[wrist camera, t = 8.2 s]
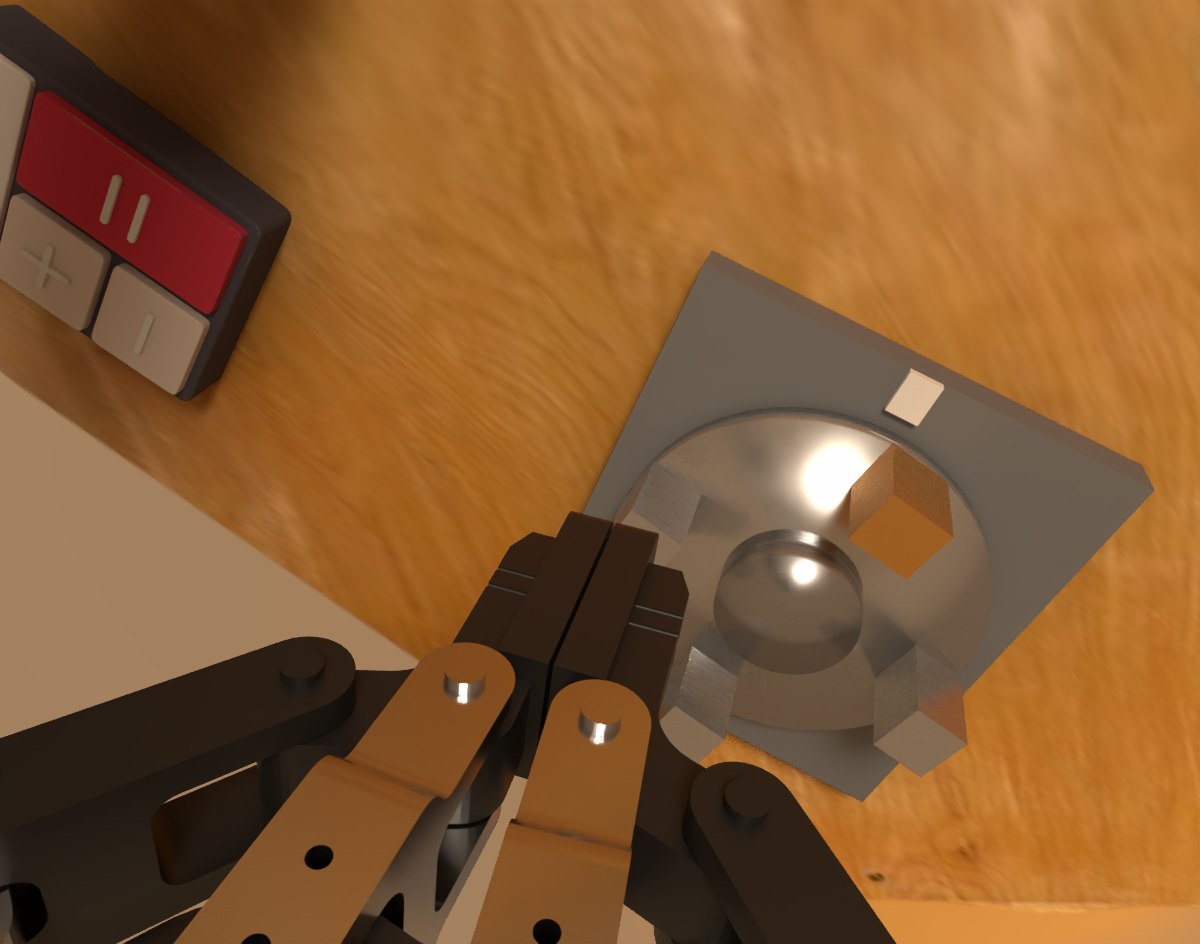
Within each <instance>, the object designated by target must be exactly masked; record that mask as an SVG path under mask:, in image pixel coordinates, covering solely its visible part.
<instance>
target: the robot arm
mask: <svg viewBox="0 0 1200 944" xmlns="http://www.w3.org/2000/svg"><path fill="white" fill-rule="evenodd" d="M658 540H659V533H655V532H651V531H648V530H644V529H640V528H636V527H632V526H628V525H624V524H620V523H616V524H615V526H614V522H612V521H608V520H604V519H600V518H597V517H593V516H589V515H585V514H581V513H577V512H573V511H571V512H570V513H569V514H568V516H567V518H566V520H565V522H564V524H563V526H562V527H561V529H560V531H559V533H558V535H557V537H556V538H554V537H550V536H546V535H542V534H538V533H535V532H532V533H530V534H529V535H527V536H526V537H524V538H523V539H521V540H519V541H518V542H516V543H515V544H513V545H512V546H510V548H509V549H508V551H507V553H506V554H505V556H504V558H503V559H502V561H501V563H500V564H499V566H498V570H496V571H495V573H494V574H493V576H492V578H491V580H490V581H489V584H488V587H487V586H486V588H485V590H484V591H483V593H482V595H481V596H480V598H479V600H478V601H477V603H476V605H475V606H474V608H473V610H472V611H471V613H470V615H469V616H468V618H467V620H466V621H465V623H464V625H463V626H462V628H461V630H460V631H459V633H458V635H457V636H456V638H455V640H454V641H453V643H452V644H448V645H444V646H441V647H439V648H436V649H435V650H433V651H431V652H430V653H428V654H427V655H426V656H424V657H423V659H422V660H421V661H420V662H419V663H418V665H417V666H416V667H415V668H413V669H409V670H401V671H372V670H371V671H370V670H356V669H355V668H356V667H355V662H354V659H353V657H352V655H351V654H350V653H349V652H348V650H347V649H346V648H344V647H343V646H342V645H340V644H338V643H336V642H334V641H332V640H329V639H325V638H319V637H297V638H292V639H288V640H284V641H281V642H279V643H275V644H272V645H269V646H267V647H264V648H261V649H258V650H255V651H252V652H249V653H246V654H243V655H240V656H238V657H235V658H232V659H229V660H226V661H223V662H220V663H217V664H214V665H211V666H208V667H206V668H203V669H200V670H197V671H194V672H191V673H188V674H185V675H183V676H180V677H177V678H174V679H171V680H168V681H165V682H162V683H159V684H156V685H153V686H151V687H148V688H145V689H142V690H139V691H136V692H133V693H130V694H127V695H124V696H121V697H119V698H116V699H113V700H110V701H107V702H104V703H101V704H98V705H95V706H92V707H90V708H87V709H84V710H81V711H79V712H75V713H72V714H70V715H67V716H63V717H61V718H58V719H55V720H52V721H49V722H46V723H43V724H40V725H37V726H35V727H32V728H29V729H26V730H23V731H20V732H17V733H14V734H11V735H8V736H5V737H3V738H0V944H116V943H118V942H120V941H122V940H124V939H126V938H129V937H131V936H133V935H135V934H137V933H139V932H141V931H143V930H145V929H147V928H149V927H151V926H153V925H155V924H157V923H159V922H161V921H163V920H166V919H168V918H170V917H172V916H174V915H175V914H178V913H180V912H182V911H184V910H186V909H188V908H190V907H192V906H194V905H196V904H199V903H200V902H203V901H204V900H207V899H209V900H208V901H207V902H206V903H205V904H204V906H203V907H200V908H197V909H194V910H191V911H189V912H187V913H184V914H181V915H179V916H176V917H174V918H172V919H170V920H168V921H166V922H164V923H162V924H160V925H158V926H156V927H154V928H152V929H150V930H148V931H146V932H145V933H143V934H141V935H139V936H137V937H135V938H133V939H131V940H129V941H127V942H125V943H124V944H436V941H437V939H438V936H439V934H440V931H441V929H442V927H443V925H444V923H445V921H446V919H447V917H448V915H449V913H450V911H451V909H452V907H453V906H454V904H455V902H456V900H457V898H458V896H459V894H460V892H461V890H462V888H463V887H464V885H465V883H466V881H467V879H468V877H469V875H470V873H471V871H472V869H473V868H474V865H475V864H476V862H477V860H478V858H479V856H480V854H481V852H482V850H483V848H484V847H485V845H486V843H487V841H488V839H489V837H490V835H491V833H492V831H493V829H494V828H495V826H496V824H497V821H498V819H499V816H500V810H501V804H502V802H503V800H504V798H505V796H506V794H507V792H508V789H509V787H510V785H511V782H512V780H513V778H514V775H516V776H519V777H523V778H526V779H528V781H527V784H526V787H525V790H524V793H523V797H522V800H521V803H520V806H519V810H518V813H517V816H516V818H515V819H511V820H510V822H509V825H508V827H507V830H506V833H505V836H504V839H503V842H502V845H501V848H500V851H499V855H498V858H497V861H496V864H495V868H494V871H493V874H492V877H491V880H490V883H489V887H488V890H487V893H486V896H485V899H484V902H483V906H482V909H481V912H480V915H479V918H478V922H477V925H476V928H475V931H474V935H473V937H472V941H471V944H617V938H618V932H619V926H620V920H621V915H622V909H623V904H624V905H626V906H627V907H629V908H630V909H631V910H633V911H634V912H635V913H637V914H638V915H640V916H641V917H643V918H644V919H645V920H647V921H648V922H649V923H651V924H652V925H654V935H655V940H656V944H896V942H895V941H894V940H893V938H892V937H891V935H890V934H889V933H888V931H887V929H886V928H885V927H884V925H883V924H882V922H881V921H880V919H879V918H878V917H877V915H876V914H875V912H874V911H873V909H872V908H871V907H870V905H869V904H868V902H867V901H866V899H865V898H864V896H863V895H862V894H861V892H860V891H859V889H858V888H857V886H856V885H855V884H854V882H853V881H852V879H851V878H850V876H849V875H848V874H847V872H846V871H845V869H844V868H843V866H842V865H841V863H840V862H839V861H838V859H837V858H836V856H835V855H834V853H833V852H832V851H831V849H830V848H829V846H828V845H827V843H826V842H825V841H824V839H823V838H822V836H821V835H820V833H819V832H818V830H817V829H816V828H815V826H814V825H813V823H812V822H811V820H810V819H809V818H808V816H807V815H806V813H805V812H804V810H803V809H802V808H801V806H800V805H799V803H798V802H797V800H796V799H795V797H794V796H793V795H792V793H791V792H790V791H789V789H788V788H787V787H786V786H785V785H784V784H783V783H782V782H781V781H780V780H779V779H778V778H777V777H775V776H774V775H772V774H771V773H769V772H767V771H766V770H764V769H762V768H759V767H757V766H754V765H751V764H747V763H742V762H723V763H718V764H715V765H712V766H710V767H708V768H707V769H706V768H704V767H703V766H701V765H699V764H698V763H696V762H694V761H693V760H691V759H690V758H688V757H687V756H685V755H684V754H682V753H681V752H680V751H679V750H678V749H677V748H676V747H674V745H673V744H672V743H671V742H670V741H669V740H668V738H667V736H666V735H665V733H664V732H663V729H662V727H661V725H660V721H659V712H660V709H661V705H662V701H663V698H664V694H665V690H666V686H667V683H668V679H669V676H670V672H671V668H672V665H673V661H674V657H675V652H676V648H677V644H678V640H679V636H680V631H681V627H682V623H683V619H684V615H685V610H686V606H687V602H688V598H689V591H688V588H687V585H686V582H685V579H684V575H683V572H682V571H679V570H676V569H672V568H668V567H664V566H661V565H657V564H654V560H655V555H656V550H657V545H658ZM255 762H257V765H255V766H253V767H250V768H248V769H245V770H243V771H241V772H238V773H236V774H234V775H231V776H229V777H226V778H224V779H222V780H219V781H217V782H215V783H212V784H210V785H207V786H205V787H202V788H200V789H198V790H195V791H193V792H190V793H188V794H186V795H183V796H181V797H178V798H176V799H174V800H171V801H169V802H167V803H165V802H166V801H167V800H169V799H170V798H172V797H174V796H176V795H178V794H180V793H182V792H185V791H187V790H190V789H192V788H194V787H197V786H199V785H202V784H204V783H206V782H209V781H211V780H214V779H216V778H219V777H221V776H223V775H226V774H228V773H231V772H233V771H235V770H238V769H240V768H243V767H245V766H247V765H250V764H252V763H255ZM163 803H164V804H163Z"/></svg>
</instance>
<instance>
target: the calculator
mask: <svg viewBox="0 0 1200 944" xmlns="http://www.w3.org/2000/svg"><path fill="white" fill-rule="evenodd" d="M290 223H291V214H290V212H289V211H288V210H287V209H286V208H285V207H284V206H283V205H282V204H280V203H279V202H278V201H276V200H275V199H274V198H272V197H271V196H270V195H268V194H267V193H266V192H265V191H263V190H262V189H261V188H259V187H258V186H257V185H255V184H254V183H253V182H251V181H250V180H249V179H247V178H246V177H245V176H243V175H242V174H241V173H239V172H238V171H237V170H236V169H234V168H233V167H232V166H230V165H229V164H228V163H226V162H225V161H224V160H222V159H221V158H220V157H218V156H217V155H216V154H214V153H213V152H212V151H210V150H209V149H208V148H206V147H205V146H204V145H202V144H201V143H200V142H198V141H197V140H196V139H194V138H193V137H192V136H190V135H189V134H187V133H186V132H185V131H183V130H182V129H180V128H179V127H178V126H176V125H175V124H173V123H172V122H171V121H169V120H168V119H167V118H165V117H164V116H162V115H161V114H160V113H158V112H157V111H155V110H154V109H153V108H151V107H150V106H148V105H147V104H146V103H144V102H143V101H142V100H140V99H139V98H137V97H136V96H135V95H133V94H132V93H130V92H129V91H128V90H126V89H125V88H123V87H122V86H121V85H119V84H118V83H117V82H115V81H114V80H112V79H111V78H110V77H108V76H107V75H106V74H104V73H103V72H101V71H100V70H99V69H98V68H97V67H96V65H95V64H94V62H93V61H92V60H91V59H89V58H88V57H87V56H86V55H84V54H83V53H82V52H80V51H79V50H78V49H76V48H75V47H74V46H72V45H71V44H70V43H68V42H67V41H66V40H65V39H63V38H62V37H61V36H59V35H58V34H57V33H55V32H54V31H53V30H51V29H50V28H49V27H47V26H46V25H45V24H43V23H42V22H41V21H40V20H38V19H37V18H36V17H34V16H33V15H32V14H30V13H29V12H28V11H26V10H25V9H24V8H22V7H21V6H19V5H7V6H0V279H1V280H3V281H4V282H6V283H7V284H9V285H10V286H12V287H13V288H14V289H16V290H17V291H19V292H20V293H22V294H23V295H25V296H26V297H28V298H29V299H31V300H32V301H34V302H35V303H37V304H38V305H40V306H41V307H43V308H44V309H46V310H47V311H48V312H50V313H51V314H53V315H54V316H56V317H57V318H59V319H60V320H62V321H63V322H65V323H66V324H68V325H69V326H71V327H72V328H74V329H76V330H78V331H80V332H82V333H83V334H85V335H86V336H88V337H89V338H91V339H92V340H93V341H94V342H95V343H96V344H97V345H99V346H100V347H102V348H103V349H105V350H106V351H108V352H109V353H111V354H112V355H114V356H115V357H116V358H118V359H119V360H121V361H122V362H124V363H125V364H127V365H128V366H130V367H131V368H133V369H134V370H136V371H137V372H139V373H140V374H142V375H143V376H145V377H146V378H148V379H149V380H150V381H152V382H153V383H155V384H156V385H158V386H159V387H161V388H162V389H164V390H165V391H167V392H168V393H170V394H173V395H175V396H176V397H178V398H180V399H181V400H184V401H189V400H191V399H192V398H194V397H195V396H197V395H198V394H199V393H201V392H202V391H204V390H205V389H206V388H208V387H209V386H211V385H212V384H213V383H215V382H216V381H217V380H219V379H220V377H221V375H222V373H223V371H224V369H225V367H226V364H227V362H228V360H229V358H230V356H231V353H232V351H233V349H234V347H235V345H236V342H237V340H238V338H239V336H240V333H241V331H242V329H243V327H244V325H245V322H246V320H247V318H248V316H249V314H250V311H251V309H252V307H253V305H254V303H255V300H256V298H257V296H258V294H259V292H260V289H261V287H262V285H263V283H264V281H265V278H266V276H267V274H268V272H269V270H270V267H271V265H272V263H273V261H274V259H275V256H276V254H277V252H278V250H279V248H280V245H281V243H282V241H283V239H284V237H285V234H286V232H287V230H288V228H289V225H290Z"/></svg>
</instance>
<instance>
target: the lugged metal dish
mask: <svg viewBox="0 0 1200 944" xmlns="http://www.w3.org/2000/svg"><path fill="white" fill-rule="evenodd" d="M613 522H614V526H615V524H616V523H620V524H624V525H628V526H632V527H636V528H640V529H644V530H648V531H651V532H655V533H659V540H658V545H657V550H656V555H655V560H654V564H657V565H661V566H664V567H668V568H672V569H676V570H679V571H682V572H683V575H684V579H685V582H686V585H687V588H688V591H689V598H688V602H687V606H686V610H685V615H684V619H683V623H682V627H681V631H680V636H679V640H678V644H677V648H676V652H675V657H674V661H673V665H672V668H671V672H670V676H669V679H668V683H667V686H666V690H665V694H664V698H663V701H662V705H661V709H660V712H659V721H660V725H661V727H662V729H663V732H664V733H665V735H666V736H667V738H668V740H669V741H670V742H671V743H672V744H673V745H674V747H676V748H677V749H678V750H679V751H680V752H681V753H682V754H684V755H685V756H687V757H688V758H690V759H691V760H693V761H694V762H696V763H699V762H700V761H701V760H703V759H704V758H705V757H706V756H707V755H708V754H709V753H710V752H712V751H713V750H714V749H715V748H716V747H717V746H718V745H719V744H721V743H722V742H723V741H724V740H725V736H726V732H727V727H728V722H729V718H730V713H731V714H733V715H736V716H739V717H741V718H744V719H747V720H751V721H754V722H758V723H762V724H766V725H770V726H776V727H782V728H788V729H798V730H811V731H819V730H841V729H849V728H857V727H862V726H866V725H870V724H874V737H873V744H874V745H875V746H876V747H878V748H879V749H881V750H882V751H884V752H885V753H887V754H888V755H889V756H891V757H892V758H894V759H895V760H897V761H898V762H900V763H901V764H902V765H904V766H905V767H907V768H908V769H910V770H911V771H913V772H914V773H915V774H917V775H918V776H920V777H922V776H923V775H925V774H926V773H928V772H929V771H931V770H932V769H933V768H935V767H936V766H938V765H939V764H941V763H942V762H943V761H945V760H946V759H948V758H949V757H950V756H952V755H953V754H955V753H956V752H958V751H959V750H960V749H962V748H963V747H965V746H966V745H968V744H967V733H966V723H965V713H964V703H963V693H962V682H961V676H959V674H960V673H961V672H962V670H963V669H964V668H965V667H966V666H967V665H968V663H969V662H970V660H971V659H972V657H973V655H974V654H975V652H976V650H977V649H978V647H979V645H980V643H981V641H982V638H983V636H984V633H985V631H986V628H987V626H988V622H989V617H990V612H991V608H992V594H993V580H992V573H991V565H990V558H989V552H988V546H987V543H986V539H985V536H984V533H983V529H982V526H981V523H980V521H979V519H978V517H977V515H976V513H975V511H974V509H973V507H972V505H971V503H970V501H969V500H968V499H967V497H966V496H965V494H964V493H963V491H962V490H961V488H960V487H959V486H958V484H957V483H956V482H955V481H954V480H953V478H952V477H951V476H950V475H949V474H948V473H947V472H946V471H945V470H944V469H943V468H942V467H941V466H940V465H939V464H938V463H937V462H936V461H935V460H933V459H932V458H931V457H930V456H928V455H927V454H926V453H925V452H924V451H922V450H921V449H920V448H918V447H917V446H915V445H914V444H912V443H910V442H909V441H907V440H906V439H904V438H902V437H901V436H899V435H898V434H896V433H893V432H891V431H889V430H887V429H885V428H883V427H881V426H878V425H876V424H874V423H872V422H869V421H865V420H862V419H859V418H856V417H853V416H850V415H847V414H842V413H837V412H832V411H827V410H822V409H813V408H801V407H776V408H763V409H756V410H750V411H743V412H739V413H736V414H732V415H729V416H725V417H722V418H718V419H716V420H713V421H711V422H709V423H706V424H704V425H702V426H699V427H697V428H695V429H693V430H692V431H690V432H688V433H687V434H685V435H683V436H682V437H680V438H678V439H677V440H675V441H674V442H673V443H672V444H670V445H669V446H668V447H667V448H665V449H664V450H663V451H662V452H660V453H659V454H658V455H657V456H656V457H655V458H654V460H653V461H652V462H651V463H650V464H649V465H648V466H647V467H646V468H645V469H644V471H643V472H642V474H641V475H640V477H639V478H638V480H637V481H636V483H635V484H634V486H633V488H632V490H631V492H630V493H629V495H628V496H627V497H626V498H625V500H624V501H623V502H622V504H621V506H620V508H619V510H618V512H617V514H616V516H615V518H614V520H613Z"/></svg>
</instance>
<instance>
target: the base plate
mask: <svg viewBox="0 0 1200 944" xmlns="http://www.w3.org/2000/svg"><path fill="white" fill-rule="evenodd" d="M776 407H801V408H813V409H822V410H827V411H832V412H837V413H842V414H847V415H850V416H853V417H856V418H859V419H862V420H865V421H869V422H872V423H874V424H876V425H878V426H881V427H883V428H885V429H887V430H889V431H891V432H893V433H896V434H898V435H899V436H901V437H902V438H904V439H906V440H907V441H909V442H910V443H912V444H914V445H915V446H917V447H918V448H920V449H921V450H922V451H924V452H925V453H926V454H927V455H928V456H930V457H931V458H932V459H933V460H935V461H936V462H937V463H938V464H939V465H940V466H941V467H942V468H943V469H944V470H945V471H946V472H947V473H948V474H949V475H950V476H951V477H952V478H953V480H954V481H955V482H956V483H957V484H958V486H959V487H960V488H961V490H962V491H963V493H964V494H965V496H966V497H967V499H968V500H969V501H970V503H971V505H972V507H973V509H974V511H975V513H976V515H977V517H978V519H979V521H980V523H981V526H982V529H983V533H984V536H985V539H986V543H987V546H988V552H989V558H990V565H991V573H992V580H993V594H992V608H991V612H990V617H989V622H988V626H987V628H986V631H985V633H984V636H983V638H982V641H981V643H980V645H979V647H978V649H977V650H976V652H975V654H974V655H973V657H972V659H971V660H970V662H969V663H968V665H967V666H966V667H965V668H964V669H963V670H962V672H961V673H960V674H959V676H961V682H962V693H963V694H964V693H965V692H966V691H967V690H968V689H969V688H970V687H971V686H972V684H973V683H974V682H975V681H976V680H977V679H978V678H979V677H980V676H981V675H982V674H983V673H984V672H985V671H986V670H987V668H988V667H989V666H990V665H991V664H992V663H993V662H994V661H995V660H996V659H997V658H998V657H999V656H1000V655H1001V654H1002V652H1003V651H1004V650H1005V649H1006V648H1007V647H1008V646H1009V645H1010V644H1011V643H1012V642H1013V641H1014V640H1015V639H1016V638H1017V636H1018V635H1019V634H1020V633H1021V632H1022V631H1023V630H1024V629H1025V628H1026V627H1027V626H1028V625H1029V624H1030V623H1031V622H1032V620H1033V619H1034V618H1035V617H1036V616H1037V615H1038V614H1039V613H1040V612H1041V611H1042V610H1043V609H1044V608H1045V607H1046V606H1047V604H1048V603H1049V602H1050V601H1051V600H1052V599H1053V598H1054V597H1055V596H1056V595H1057V594H1058V593H1059V592H1060V591H1061V590H1062V588H1063V587H1064V586H1065V585H1066V584H1067V583H1068V582H1069V581H1070V580H1071V579H1072V578H1073V577H1074V576H1075V575H1076V574H1077V572H1078V571H1079V570H1080V569H1081V568H1082V567H1083V566H1084V565H1085V564H1086V563H1087V562H1088V561H1089V560H1090V559H1091V558H1092V556H1093V555H1094V554H1095V553H1096V552H1097V551H1098V550H1099V549H1100V548H1101V547H1102V546H1103V545H1104V544H1105V543H1106V542H1107V540H1108V539H1109V538H1110V537H1111V536H1112V535H1113V534H1114V533H1115V532H1116V531H1117V530H1118V529H1119V528H1120V527H1121V525H1122V524H1123V523H1124V522H1125V521H1126V520H1127V519H1128V518H1129V517H1130V516H1131V515H1132V514H1133V513H1134V512H1135V511H1136V509H1137V508H1138V507H1139V506H1140V505H1141V504H1142V503H1143V502H1144V501H1145V500H1146V499H1147V498H1148V497H1149V496H1150V495H1151V493H1152V492H1153V491H1154V488H1153V486H1152V484H1151V482H1150V480H1149V478H1148V476H1147V474H1146V472H1145V470H1144V468H1143V466H1142V465H1140V464H1138V463H1136V462H1134V461H1132V460H1130V459H1128V458H1126V457H1124V456H1122V455H1120V454H1118V453H1116V452H1114V451H1112V450H1110V449H1108V448H1106V447H1104V446H1102V445H1100V444H1098V443H1096V442H1094V441H1092V440H1090V439H1088V438H1086V437H1084V436H1082V435H1080V434H1078V433H1076V432H1074V431H1072V430H1070V429H1068V428H1066V427H1064V426H1062V425H1060V424H1058V423H1056V422H1054V421H1052V420H1050V419H1048V418H1046V417H1044V416H1042V415H1040V414H1038V413H1036V412H1034V411H1032V410H1030V409H1028V408H1026V407H1024V406H1022V405H1020V404H1018V403H1016V402H1014V401H1012V400H1010V399H1008V398H1006V397H1004V396H1002V395H1000V394H998V393H996V392H994V391H992V390H990V389H988V388H986V387H984V386H982V385H980V384H978V383H976V382H974V381H972V380H970V379H968V378H966V377H964V376H962V375H960V374H958V373H956V372H954V371H952V370H950V369H948V368H946V367H944V366H942V365H940V364H938V363H936V362H934V361H932V360H930V359H928V358H926V357H924V356H922V355H920V354H918V353H916V352H914V351H912V350H910V349H908V348H906V347H904V346H902V345H900V344H898V343H896V342H894V341H892V340H890V339H888V338H886V337H884V336H882V335H880V334H878V333H876V332H874V331H872V330H870V329H868V328H866V327H864V326H862V325H860V324H858V323H856V322H854V321H852V320H850V319H848V318H846V317H844V316H842V315H840V314H838V313H836V312H834V311H832V310H830V309H828V308H826V307H824V306H822V305H820V304H818V303H816V302H814V301H812V300H810V299H808V298H806V297H804V296H802V295H800V294H798V293H796V292H794V291H792V290H790V289H788V288H786V287H784V286H782V285H780V284H778V283H776V282H774V281H772V280H770V279H768V278H766V277H764V276H762V275H760V274H758V273H756V272H754V271H752V270H750V269H748V268H746V267H744V266H742V265H740V264H738V263H736V262H734V261H732V260H730V259H728V258H726V257H724V256H722V255H720V254H718V253H716V252H714V251H712V252H711V253H710V255H709V257H708V258H707V260H706V261H705V263H704V264H703V267H702V269H701V271H700V273H699V275H698V277H697V279H696V281H695V283H694V285H693V287H692V289H691V291H690V293H689V295H688V297H687V299H686V301H685V304H684V306H683V308H682V310H681V312H680V314H679V316H678V318H677V320H676V322H675V324H674V326H673V328H672V330H671V332H670V334H669V336H668V338H667V340H666V343H665V345H664V347H663V349H662V351H661V353H660V355H659V357H658V359H657V361H656V363H655V365H654V367H653V369H652V371H651V373H650V375H649V377H648V380H647V382H646V384H645V386H644V388H643V390H642V392H641V394H640V396H639V398H638V400H637V402H636V404H635V406H634V408H633V410H632V412H631V414H630V416H629V419H628V421H627V423H626V425H625V427H624V429H623V431H622V433H621V435H620V437H619V439H618V441H617V443H616V445H615V447H614V449H613V451H612V453H611V456H610V458H609V460H608V462H607V464H606V466H605V468H604V470H603V472H602V474H601V476H600V478H599V480H598V482H597V484H596V486H595V488H594V490H593V492H592V495H591V497H590V499H589V501H588V503H587V505H586V507H585V509H584V511H583V513H582V514H585V515H589V516H593V517H597V518H600V519H604V520H608V521H612V522H613V520H614V518H615V516H616V514H617V512H618V510H619V508H620V506H621V504H622V502H623V501H624V500H625V498H626V497H627V496H628V495H629V493H630V492H631V490H632V488H633V486H634V484H635V483H636V481H637V480H638V478H639V477H640V475H641V474H642V472H643V471H644V469H645V468H646V467H647V466H648V465H649V464H650V463H651V462H652V461H653V460H654V458H655V457H656V456H657V455H658V454H659V453H660V452H662V451H663V450H664V449H665V448H667V447H668V446H669V445H670V444H672V443H673V442H674V441H675V440H677V439H678V438H680V437H682V436H683V435H685V434H687V433H688V432H690V431H692V430H693V429H695V428H697V427H699V426H702V425H704V424H706V423H709V422H711V421H713V420H716V419H718V418H722V417H725V416H729V415H732V414H736V413H739V412H743V411H750V410H756V409H763V408H776ZM727 732H728V733H730V734H732V735H734V736H736V737H738V738H740V739H742V740H744V741H746V742H748V743H749V744H751V745H753V746H755V747H757V748H759V749H761V750H763V751H765V752H767V753H769V754H771V755H773V756H775V757H777V758H778V759H780V760H782V761H784V762H786V763H788V764H790V765H792V766H794V767H796V768H798V769H800V770H802V771H804V772H805V773H807V774H809V775H811V776H813V777H815V778H817V779H819V780H821V781H823V782H825V783H827V784H829V785H831V786H832V787H834V788H836V789H838V790H840V791H842V792H844V793H846V794H848V795H850V796H852V797H854V798H856V799H858V800H859V801H861V802H863V801H864V800H865V799H866V798H867V797H868V795H869V794H870V793H871V792H872V791H873V790H874V789H875V788H876V787H877V786H878V785H879V784H880V783H881V782H882V781H883V779H884V778H885V777H886V776H887V775H888V774H889V773H890V772H891V771H892V770H893V769H894V768H895V767H896V766H897V765H898V763H899V762H898V761H897V760H895V759H894V758H892V757H891V756H889V755H888V754H887V753H885V752H884V751H882V750H881V749H879V748H878V747H876V746H875V745H874V744H873V737H874V724H870V725H866V726H862V727H857V728H849V729H841V730H819V731H811V730H798V729H788V728H782V727H776V726H770V725H766V724H762V723H758V722H754V721H751V720H747V719H744V718H741V717H739V716H736V715H733V714H731V713H730V718H729V722H728V727H727Z"/></svg>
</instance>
